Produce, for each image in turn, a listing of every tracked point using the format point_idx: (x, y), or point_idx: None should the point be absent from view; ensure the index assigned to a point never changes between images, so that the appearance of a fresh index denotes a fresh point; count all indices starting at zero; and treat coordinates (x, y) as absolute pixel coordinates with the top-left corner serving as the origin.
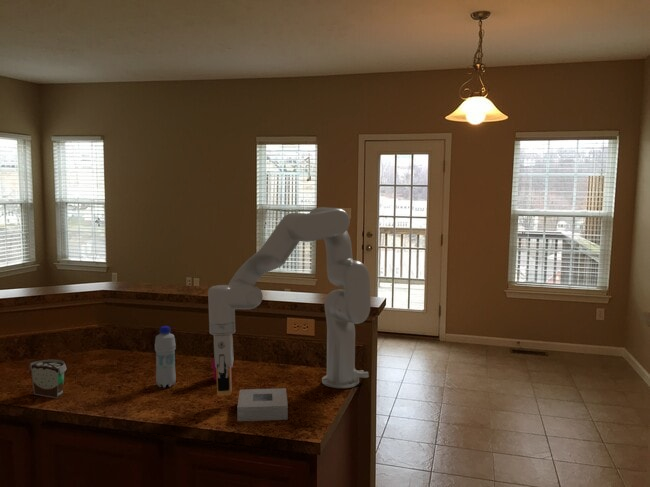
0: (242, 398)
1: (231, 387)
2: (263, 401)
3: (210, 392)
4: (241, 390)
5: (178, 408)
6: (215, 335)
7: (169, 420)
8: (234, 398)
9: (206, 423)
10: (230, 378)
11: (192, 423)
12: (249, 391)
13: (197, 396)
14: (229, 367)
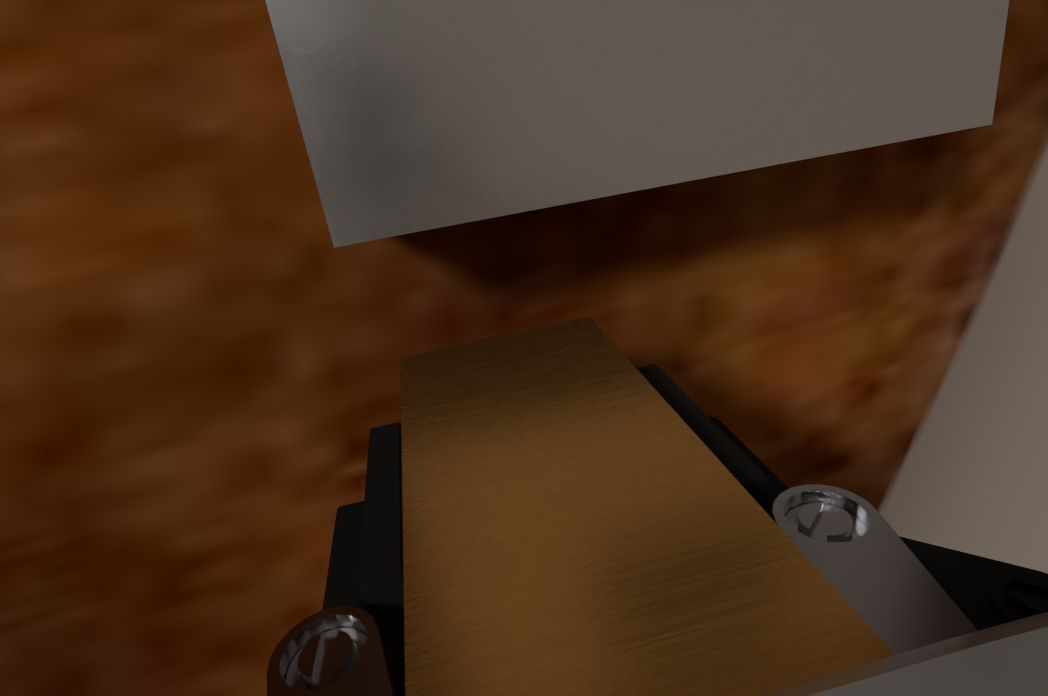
0: (697, 119)
1: (436, 371)
2: None
3: (120, 601)
4: (369, 210)
5: None
6: None
7: None
8: (233, 311)
9: (860, 388)
10: (653, 441)
11: (844, 486)
12: (391, 59)
13: (268, 662)
14: (879, 658)
